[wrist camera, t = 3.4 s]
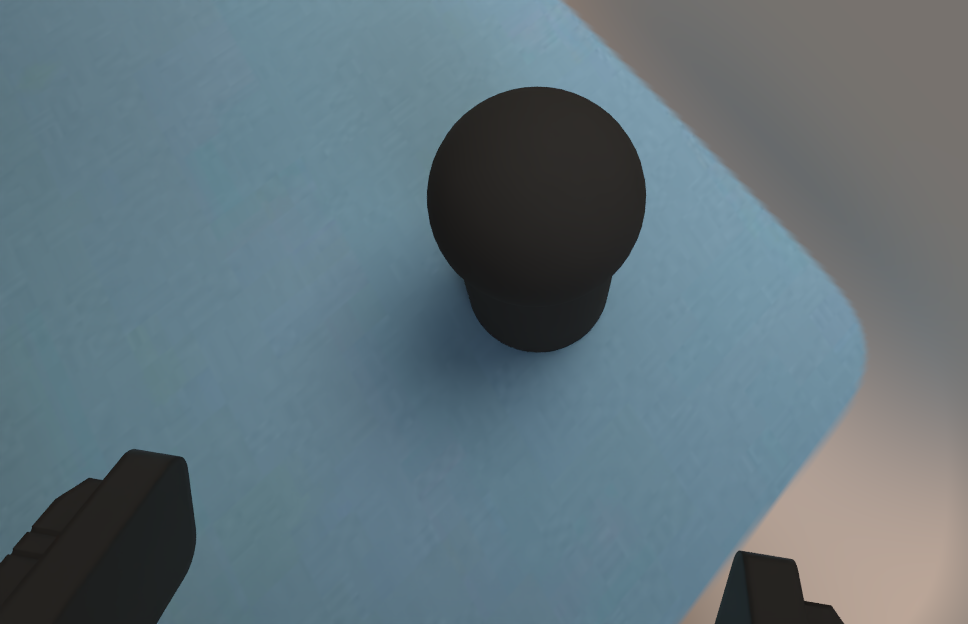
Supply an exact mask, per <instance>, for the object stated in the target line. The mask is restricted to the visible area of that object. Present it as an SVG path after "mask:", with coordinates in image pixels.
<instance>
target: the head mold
mask: <svg viewBox="0 0 968 624" xmlns="http://www.w3.org/2000/svg"><path fill="white" fill-rule="evenodd" d="M645 203H646V188H645V179H644V175H643V170H642V166H641V162H640V159H639V157H638V154H637V151H636V149H635V147H634V146H633V144H632V142H631V140H630V138H629V137H628V135H627V134H626V133H625V131H624V130H623V129H622V127H621V126H620V125H619V123H618V122H617V121H616V120H615V119H614V118H613V117H612V116H611V115H610V114H609V113H607V112H606V111H605V110H603V109H602V108H601V107H600V106H598V105H596V104H595V103H593V102H591V101H590V100H588V99H586V98H584V97H582V96H579V95H577V94H575V93H572V92H568V91H565V90H562V89H556V88H550V87H524V88H518V89H513V90H509V91H506V92H503V93H499V94H497V95H495V96H493V97H490V98H488V99H486V100H485V101H483V102H481V103H480V104H478V105H476V106H475V107H473V108H472V109H471V110H470V111H468V112H467V113H466V114H464V115H463V116H462V117H461V118H460V119H459V120H458V121H457V122H456V123H455V124H454V126H453V127H452V128H451V130H450V131H449V132H448V133H447V135H446V137H445V138H444V140H443V142H442V144H441V145H440V147H439V149H438V151H437V153H436V155H435V158H434V160H433V163H432V167H431V171H430V175H429V181H428V189H427V208H428V214H429V220H430V225H431V229H432V232H433V235H434V238H435V240H436V242H437V244H438V247H439V249H440V251H441V252H442V254H443V255H444V257H445V259H446V260H447V262H448V263H449V265H450V266H451V267H452V268H453V269H454V271H455V272H456V273H457V274H458V275H459V276H460V277H461V278H462V279H464V282H465V285H466V289H467V292H468V295H469V299H470V302H471V305H472V309H473V311H474V313H475V315H476V317H477V319H478V320H479V322H480V323H481V325H482V326H483V327H484V328H485V329H486V331H487V332H488V333H490V334H491V335H492V336H493V337H494V338H496V339H497V340H499V341H500V342H501V343H503V344H505V345H507V346H509V347H512V348H515V349H518V350H522V351H527V352H548V351H554V350H558V349H561V348H564V347H566V346H568V345H571V344H573V343H574V342H576V341H578V340H579V339H581V338H582V337H583V336H584V335H585V334H587V333H588V332H589V331H590V330H591V328H592V327H593V326H594V325H595V323H596V322H597V321H598V319H599V317H600V315H601V314H602V312H603V309H604V306H605V303H606V300H607V296H608V292H609V287H610V283H611V279H612V276H613V275H614V274H615V272H616V271H617V270H618V269H619V268H620V267H621V266H622V264H623V263H624V262H625V260H626V259H627V257H628V256H629V254H630V252H631V250H632V248H633V247H634V245H635V243H636V241H637V239H638V236H639V233H640V230H641V227H642V223H643V218H644V213H645Z"/></svg>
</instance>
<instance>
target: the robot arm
mask: <svg viewBox="0 0 968 624" xmlns="http://www.w3.org/2000/svg"><path fill="white" fill-rule="evenodd" d="M195 545H196V527H195V519H194V511H193V504H192V496H191V488H190V481H189V473H188V467H187V463H186V461H185V459H184V458H182V457H180V456H173V455H167V454H161V453H155V452H149V451H143V450H137V449H132V450H129V451H128V452H126V453H125V454H124V455H123V456H122V457H121V459H120V460H119V461H118V462H117V464H116V465H115V466H114V467H113V468H112V470H111V471H110V472H109V473H108V475H107V476H106V477H105V478H104V479H103V480H99V479H93V478H88V479H86V480H85V481H83V482H82V483H80V484H78V485H77V486H75V487H74V488H72V489H71V490H69V491H67V492H66V493H64V494H63V495H61V496H60V497H58V498H57V499H55V500H54V501H53V502H52V504H51V505H50V506H49V507H48V508H47V509H46V511H45V512H44V513H43V514H42V515H41V516H40V518H39V519H38V520H37V521H36V522H35V523H34V525H33V526H32V530H31V532H27V533H26V534H25V535H24V536H23V537H22V538H21V540H20V541H19V542H18V543H17V544H16V545H15V547H14V548H13V552H12V554H11V555H9V554H8V555H7V556H6V557H5V558H4V559H3V561H2V562H1V563H0V624H157V622H158V620H159V619H160V617H161V615H162V614H163V612H164V610H165V609H166V607H167V606H168V604H169V602H170V601H171V599H172V597H173V596H174V594H175V592H176V591H177V589H178V587H179V586H180V584H181V582H182V581H183V579H184V577H185V576H186V574H187V572H188V570H189V567H190V565H191V562H192V559H193V555H194V551H195ZM715 624H844V623H843V622H842V620H841V619H840V617H839V616H838V615H837V613H836V612H835V610H834V609H833V607H832V606H831V605H825V604H819V603H813V602H807V601H804V598H803V594H802V588H801V583H800V578H799V573H798V568H797V565H796V563H795V561H794V560H793V559H788V558H782V557H775V556H769V555H764V554H757V553H750V552H745V551H738V552H737V553H736V555H735V557H734V560H733V563H732V566H731V570H730V573H729V577H728V580H727V584H726V587H725V590H724V594H723V597H722V601H721V604H720V608H719V611H718V615H717V618H716V621H715Z"/></svg>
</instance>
